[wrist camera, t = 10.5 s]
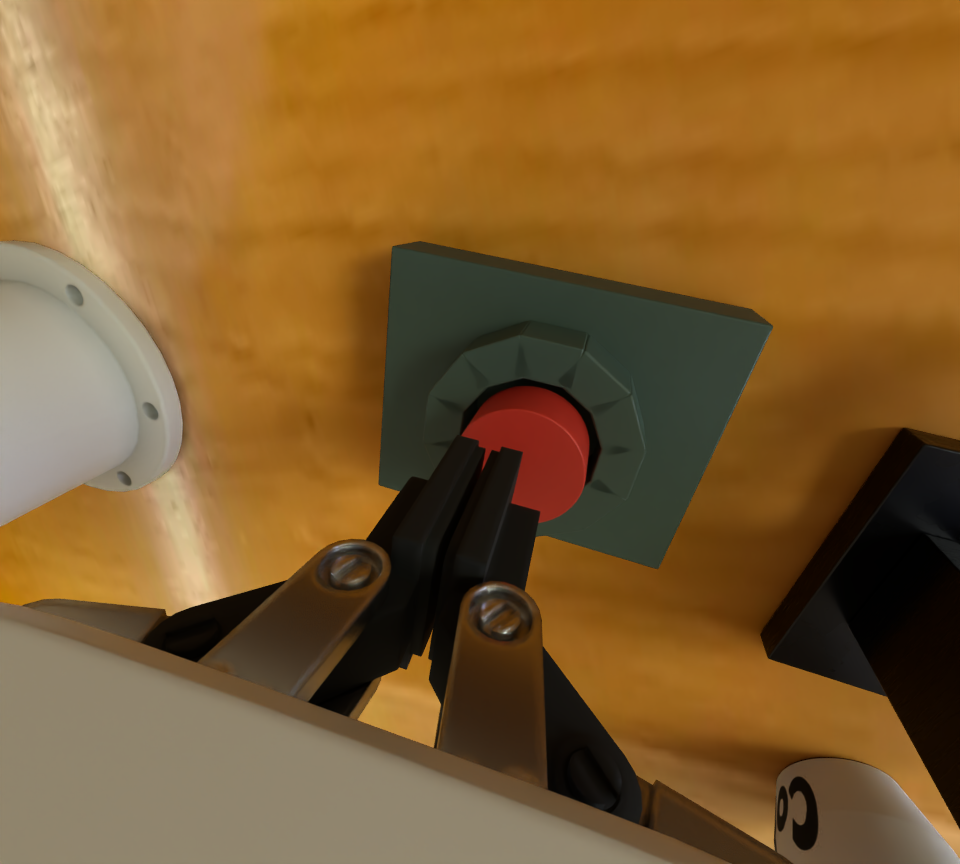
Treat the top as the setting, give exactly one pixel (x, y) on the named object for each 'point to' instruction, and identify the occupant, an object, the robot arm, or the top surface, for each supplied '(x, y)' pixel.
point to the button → (537, 445)
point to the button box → (566, 381)
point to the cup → (851, 817)
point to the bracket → (891, 600)
